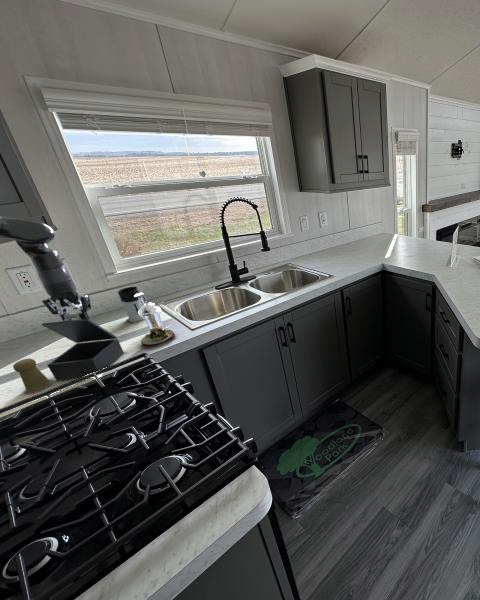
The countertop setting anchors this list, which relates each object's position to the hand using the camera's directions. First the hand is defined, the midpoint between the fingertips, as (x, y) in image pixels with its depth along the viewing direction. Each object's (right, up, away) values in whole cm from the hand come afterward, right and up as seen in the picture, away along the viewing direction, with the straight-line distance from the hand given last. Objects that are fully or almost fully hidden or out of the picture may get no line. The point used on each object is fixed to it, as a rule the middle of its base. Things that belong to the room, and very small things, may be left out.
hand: (77, 322), depth 122 cm
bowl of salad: (+16, -9, +20) cm, 27 cm away
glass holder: (-7, -1, +40) cm, 41 cm away
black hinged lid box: (+1, -17, +4) cm, 18 cm away
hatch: (0, -4, +1) cm, 4 cm away
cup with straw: (+9, -6, +27) cm, 30 cm away
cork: (-8, -23, -6) cm, 25 cm away
